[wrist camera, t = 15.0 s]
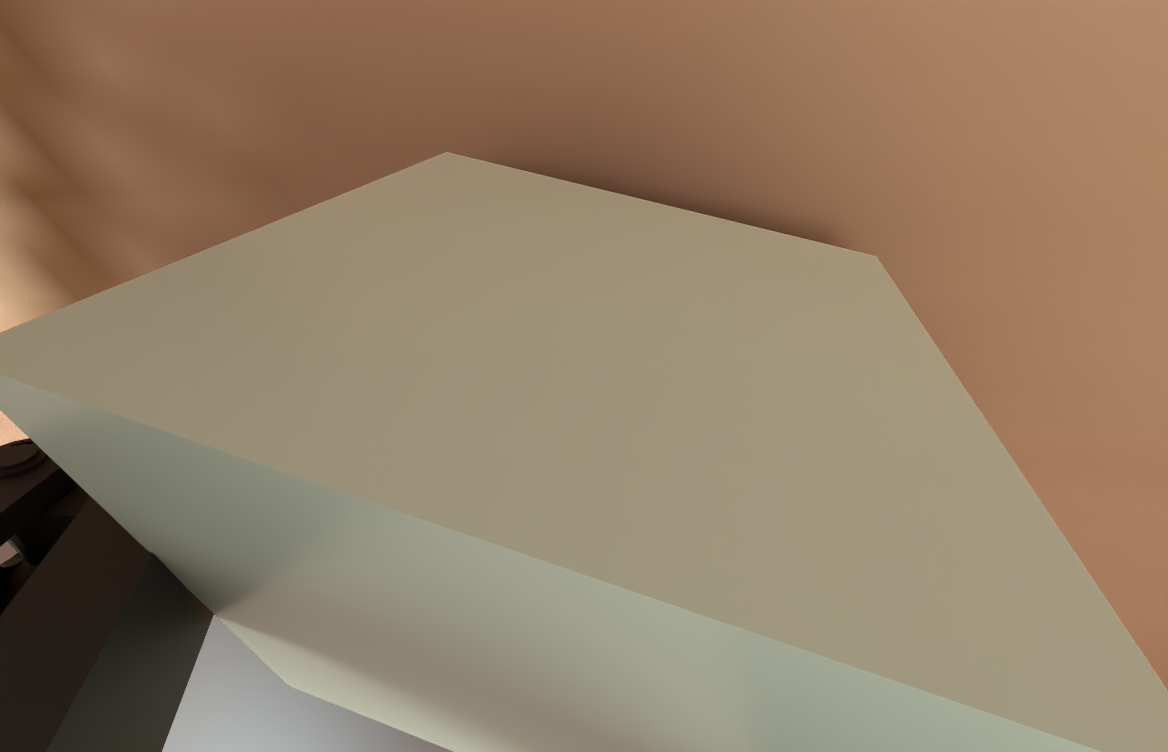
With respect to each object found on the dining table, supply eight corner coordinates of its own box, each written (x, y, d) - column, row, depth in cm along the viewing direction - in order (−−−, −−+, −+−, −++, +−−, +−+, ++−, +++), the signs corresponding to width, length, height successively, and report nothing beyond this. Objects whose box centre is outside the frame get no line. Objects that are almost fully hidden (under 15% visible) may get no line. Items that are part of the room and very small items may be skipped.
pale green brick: (446, 151, 10) (-57, 355, 4) (876, 256, 9) (1243, 800, 3) (461, 431, 17) (288, 685, 10) (715, 511, 16) (705, 852, 9)
